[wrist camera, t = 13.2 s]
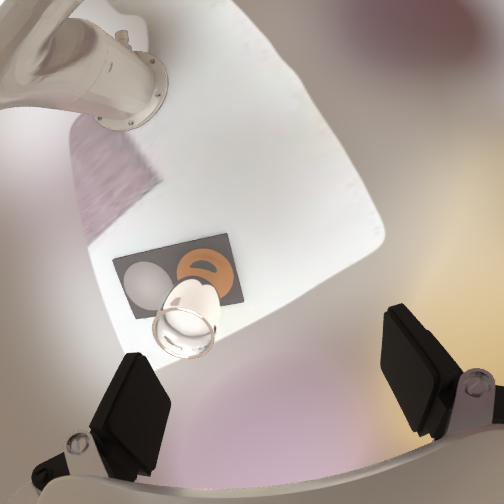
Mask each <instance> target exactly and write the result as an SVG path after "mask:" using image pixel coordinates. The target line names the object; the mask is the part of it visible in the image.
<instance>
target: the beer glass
mask: <svg viewBox="0 0 504 504" xmlns="http://www.w3.org/2000/svg"><path fill="white" fill-rule="evenodd" d="M223 281H224V272H223V269H222V267H221V266H220V264H219V263H218V262H217V261H215V260H214V259H212V258H210V257H206V256H199V257H195V258H193V259H191V260H190V261H189V262H188V263H187V264H186V266H185V268H184V272H183V277H182V278H181V279H180V280H178V281H177V282H176V283H175V284H174V285H173V286H172V287H171V288H170V289H169V291H168V292H167V293H166V295H165V297H164V298H163V300H162V302H161V304H160V306H159V309H158V311H157V314H156V317H155V319H154V321H153V324H152V332H153V336H154V338H155V340H156V342H157V343H158V345H159V346H160V347H161V348H162V349H163V350H165V351H166V352H167V353H169V354H171V355H173V356H175V357H179V358H183V359H193V358H199V357H201V356H203V355H205V354H206V353H208V352H209V351H210V350H211V348H212V346H213V344H214V339H215V336H216V333H217V330H218V326H219V322H220V314H221V303H220V296H219V289H220V287H221V286H222V284H223Z"/></svg>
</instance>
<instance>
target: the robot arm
mask: <svg viewBox="0 0 504 504" xmlns="http://www.w3.org/2000/svg"><path fill="white" fill-rule="evenodd" d="M83 1H84V0H0V110H2V109H6V108H12V107H42V108H50V109H58V110H65V111H71V112H78V113H83V114H88V115H93V117H94V118H95V120H96V121H97V122H98V123H99V124H100V125H101V126H103V127H105V128H107V129H109V130H114V131H126V130H131V129H134V128H137V127H139V126H140V125H142V124H144V123H145V122H147V121H148V120H149V119H150V118H151V117H152V116H153V115H154V114H155V113H156V112H157V111H158V109H159V108H160V106H161V105H162V103H163V101H164V99H165V95H166V92H167V86H168V79H167V73H166V70H165V68H164V66H163V64H162V63H161V62H160V61H159V60H158V59H157V58H156V57H154V56H153V55H151V54H149V53H146V52H141V51H132V47H131V46H130V45H128V40H129V39H128V31H126V30H120V31H118V32H117V33H116V34H115V39H114V38H113V37H112V36H110V35H109V34H108V33H106V32H105V31H104V30H102V29H101V28H100V27H98V26H97V25H95V24H94V23H92V22H90V21H88V20H84V19H79V18H68V17H69V15H70V14H71V13H72V12H73V11H74V10H75V9H76V8H77V7H78V6H79V5H80V4H81V3H82V2H83ZM154 62H155V63H154ZM153 63H154V64H153ZM159 94H161V96H160V97H159ZM132 122H134V123H133V125H132ZM380 365H381V369H382V372H383V374H384V375H385V378H386V380H387V381H388V383H389V385H390V387H391V389H392V391H393V393H394V395H395V397H396V399H397V401H398V403H399V405H400V407H401V409H402V411H403V413H404V415H405V417H406V419H407V421H408V423H409V425H410V427H411V429H412V431H413V432H417V433H418V435H419V437H421V436H424V435H426V434H428V433H429V434H430V436H431V438H433V440H432V442H431V443H429V444H427V445H424V446H422V447H419V448H417V449H415V450H412V451H410V452H407V453H405V454H402V455H399V456H397V457H394V458H391V459H389V460H385V461H382V462H380V463H377V464H373V465H371V466H367V467H364V468H361V469H357V470H353V471H350V472H346V473H342V474H339V475H334V476H330V477H325V478H321V479H315V480H310V481H305V482H298V483H292V484H285V485H277V486H268V487H257V488H242V489H194V488H193V489H192V488H178V487H167V486H157V485H149V484H142V483H139V482H138V480H137V475H142V476H151V472H152V470H154V469H155V467H156V463H157V459H158V455H159V451H160V447H161V442H162V439H163V435H164V431H165V427H166V423H167V419H168V416H169V412H170V408H171V401H170V398H169V396H168V395H167V393H166V392H165V390H164V388H163V386H162V385H161V383H160V381H159V380H158V378H157V376H156V374H155V373H154V371H153V369H152V367H151V365H150V363H149V362H148V360H147V358H146V357H145V356H143V355H142V354H141V353H139V352H137V353H127V354H126V355H125V356H124V358H123V360H122V362H121V364H120V365H119V367H118V369H117V371H116V373H115V375H114V377H113V379H112V381H111V383H110V385H109V387H108V389H107V391H106V392H105V394H104V397H103V398H102V401H101V402H100V404H99V407H98V409H97V411H96V413H95V415H94V417H93V419H92V421H91V423H90V425H89V427H90V428H91V431H90V433H89V432H88V431H86V430H77V431H74V432H73V433H71V434H70V435H69V436H68V437H67V438H66V440H65V441H64V445H63V447H64V452H63V453H61V454H59V455H57V456H55V457H53V458H51V459H49V460H47V461H45V462H43V463H41V464H39V465H38V466H36V468H35V469H34V470H33V473H32V477H31V478H32V482H31V481H30V480H28V481H27V482H26V483H25V484H24V485H23V486H22V487H20V488H19V489H18V490H17V491H16V492H15V493H14V494H12V495H11V496H10V497H9V498H8V499H7V501H6V503H5V504H504V386H498V385H495V380H494V378H493V376H492V375H491V374H490V373H489V372H488V371H486V370H484V369H480V368H473V369H470V370H467V371H466V372H463V371H462V370H461V368H460V367H459V366H458V365H457V363H456V362H455V361H454V360H453V358H452V357H451V356H450V355H449V353H448V352H447V351H446V350H445V349H444V347H443V346H442V345H441V344H440V343H439V341H438V340H437V339H436V338H435V337H434V336H433V334H432V333H431V332H430V331H429V330H426V329H425V328H424V327H423V325H421V323H420V322H419V321H418V320H417V319H416V317H415V316H414V315H413V314H412V313H411V312H410V311H409V309H407V307H406V306H405V305H404V304H402V303H401V304H397V305H394V306H391V307H389V308H388V310H387V312H385V313H384V321H383V337H382V350H381V361H380Z"/></svg>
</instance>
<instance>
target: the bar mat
mask: <svg viewBox="0 0 504 504" xmlns="http://www.w3.org/2000/svg"><path fill="white" fill-rule="evenodd" d="M199 256H206V257H210V258H212V259H214V260H215V261H217V262H218V263H219V264H220V266H221V267H222V269H223V272H224V281H223V284H222V286H221V287H220V289H219V296H220V303H221V306H225V305H231V304H236V303H242V302H244V299H243V295H242V291H241V287H240V283H239V279H238V275H237V272H236V268H235V264H234V260H233V256H232V252H231V248H230V244H229V240H228V236H227V233H226V234H221V235H217V236H212V237H208V238H203V239H198V240H194V241H189V242H185V243H180V244H176V245H172V246H167V247H163V248H159V249H154V250H150V251H146V252H141V253H137V254H133V255H129V256H125V257H120V258H116V259H113V260H112V261H113V264H114V267H115V269H116V272H117V275H118V277H119V280H120V282H121V285H122V287H123V290H124V292H125V295H126V297H127V300H128V302H129V304H130V307H131V309H132V311H133V314H134V316H135V318H136V319H141V318H148V317H155V316H156V314H157V311H158V309H159V306H160V304H161V302H162V300H163V298H164V297H165V295H166V293H167V292H168V291H169V289H170V288H171V287H172V286H173V285H174V284H175V283H176V282H177V281H178V280H180V279H181V278H182V277H183V272H184V268H185V266H186V264H187V263H188V262H189V261H190V260H191V259H193V258H195V257H199Z"/></svg>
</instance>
